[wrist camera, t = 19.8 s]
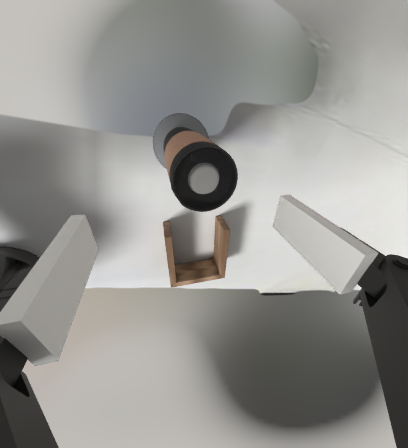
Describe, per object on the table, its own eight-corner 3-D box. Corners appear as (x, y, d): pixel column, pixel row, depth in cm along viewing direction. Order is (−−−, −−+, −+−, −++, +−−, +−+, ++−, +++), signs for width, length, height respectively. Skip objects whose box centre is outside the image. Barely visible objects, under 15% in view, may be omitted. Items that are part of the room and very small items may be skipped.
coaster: (156, 174, 39) (157, 175, 38) (149, 113, 33) (149, 113, 32) (207, 171, 41) (208, 172, 40) (208, 113, 35) (210, 113, 34)
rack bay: (169, 269, 54) (171, 287, 49) (163, 222, 45) (164, 237, 40) (217, 261, 57) (224, 277, 52) (221, 215, 48) (229, 229, 43)
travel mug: (205, 133, 36) (250, 157, 20) (193, 171, 39) (223, 218, 23) (167, 118, 33) (182, 132, 17) (157, 160, 37) (162, 205, 20)
